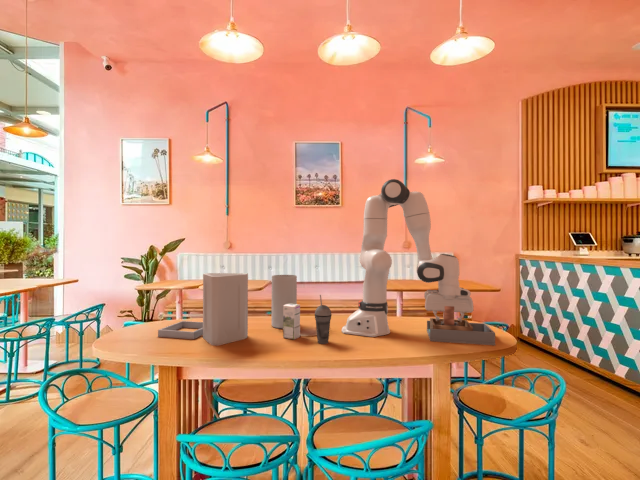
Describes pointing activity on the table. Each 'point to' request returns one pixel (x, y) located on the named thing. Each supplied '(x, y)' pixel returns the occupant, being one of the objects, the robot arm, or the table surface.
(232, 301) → the paper bag
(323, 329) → the beverage cup
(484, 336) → the tray
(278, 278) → the cylinder vase
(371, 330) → the robot arm
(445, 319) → the reddish brown block
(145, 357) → the table surface
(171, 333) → the gray square frame
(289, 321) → the syrup box
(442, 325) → the crate
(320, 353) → the table surface
